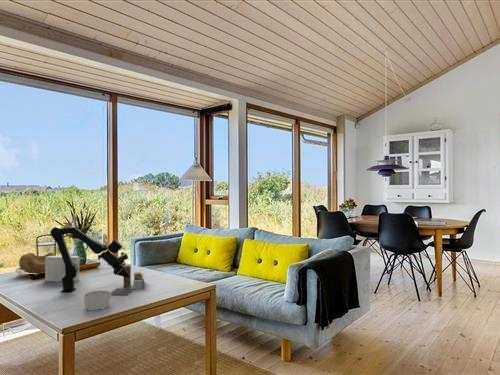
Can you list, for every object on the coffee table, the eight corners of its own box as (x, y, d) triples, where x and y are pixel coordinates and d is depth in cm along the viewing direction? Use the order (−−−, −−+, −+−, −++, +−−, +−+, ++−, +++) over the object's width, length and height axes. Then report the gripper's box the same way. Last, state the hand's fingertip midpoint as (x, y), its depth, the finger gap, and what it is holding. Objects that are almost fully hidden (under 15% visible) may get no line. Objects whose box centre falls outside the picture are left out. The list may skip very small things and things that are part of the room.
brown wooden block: (123, 287, 222) (123, 266, 222) (124, 285, 227) (123, 264, 227) (130, 287, 223) (130, 266, 223) (130, 284, 228) (130, 264, 228)
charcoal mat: (127, 295, 207) (127, 294, 207) (108, 295, 208) (108, 294, 208) (134, 289, 218) (134, 288, 218) (117, 289, 219) (117, 288, 219)
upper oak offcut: (134, 280, 224) (134, 274, 224) (134, 278, 228) (134, 272, 228) (141, 279, 226) (141, 273, 226) (140, 278, 229) (140, 271, 229)
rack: (133, 289, 219) (133, 279, 219) (134, 282, 233) (134, 273, 233) (144, 288, 221) (144, 278, 221) (144, 282, 235) (144, 272, 235)
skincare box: (80, 279, 239) (79, 256, 239) (75, 282, 234) (75, 257, 234) (49, 278, 241) (49, 255, 241) (44, 281, 236) (44, 257, 236)
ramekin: (114, 302, 195) (114, 290, 195) (105, 311, 182) (105, 298, 182) (89, 303, 194) (89, 290, 194) (79, 311, 181) (78, 298, 181)
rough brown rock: (21, 280, 239) (22, 258, 238) (17, 273, 251) (18, 252, 250) (60, 276, 254) (61, 255, 253) (54, 269, 267) (55, 250, 266)
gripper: (119, 252, 214) (138, 269, 218) (121, 246, 232) (139, 262, 236) (105, 266, 212) (124, 283, 216) (108, 259, 230) (126, 275, 234)
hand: (129, 275), depth 225 cm, fingers open, 9 cm apart
